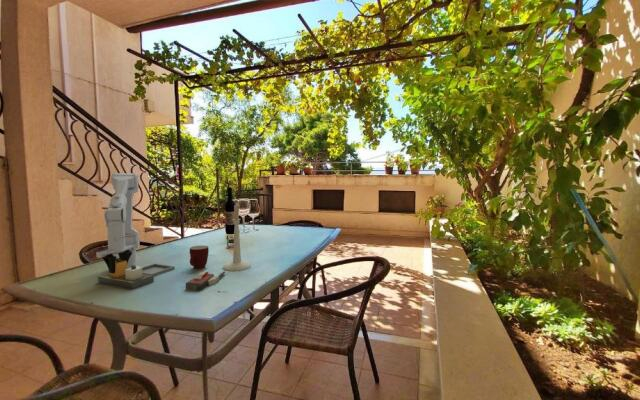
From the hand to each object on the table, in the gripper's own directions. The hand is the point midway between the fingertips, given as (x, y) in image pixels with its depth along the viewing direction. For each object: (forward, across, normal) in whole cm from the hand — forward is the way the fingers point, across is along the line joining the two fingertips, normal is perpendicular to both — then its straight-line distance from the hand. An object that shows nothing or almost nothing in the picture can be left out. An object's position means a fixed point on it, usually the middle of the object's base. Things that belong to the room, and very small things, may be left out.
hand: (118, 271), depth 120 cm
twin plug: (+4, 0, -9) cm, 10 cm away
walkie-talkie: (+5, +13, -32) cm, 36 cm away
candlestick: (+5, +35, -32) cm, 47 cm away
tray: (+4, +14, -2) cm, 15 cm away
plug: (+2, 0, 0) cm, 2 cm away
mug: (+5, +25, -18) cm, 31 cm away
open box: (+4, 0, -4) cm, 6 cm away
